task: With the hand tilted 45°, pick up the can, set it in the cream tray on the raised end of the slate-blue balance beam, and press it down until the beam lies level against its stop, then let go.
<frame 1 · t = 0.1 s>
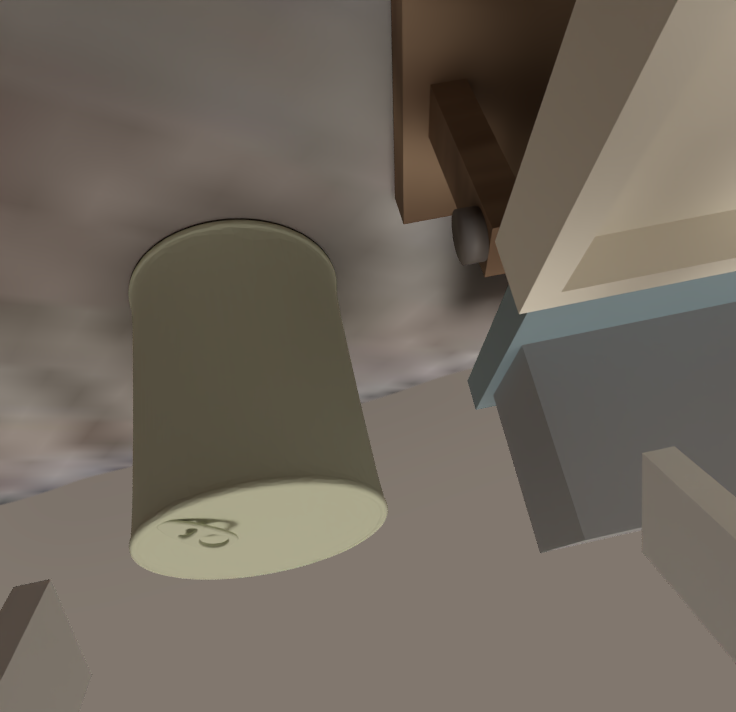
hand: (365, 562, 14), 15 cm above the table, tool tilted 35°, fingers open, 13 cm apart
can: (235, 289, 29), on the table
pivot stand: (600, 54, 22), on the table
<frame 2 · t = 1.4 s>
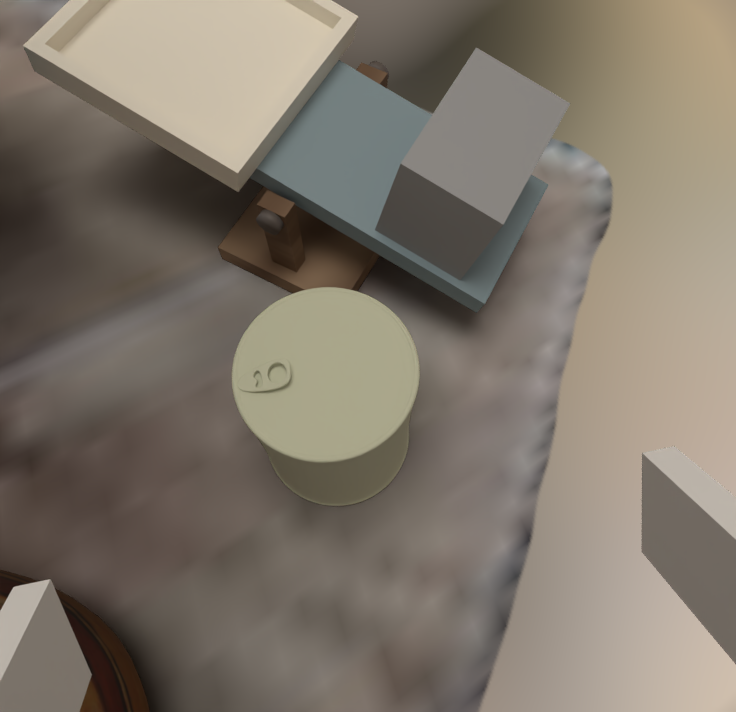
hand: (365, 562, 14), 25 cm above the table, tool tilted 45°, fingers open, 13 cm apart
balance beam: (317, 90, 37), point 12 cm above the table, hinge at 12.0°
can: (337, 435, 41), on the table
pivot stand: (332, 210, 48), on the table
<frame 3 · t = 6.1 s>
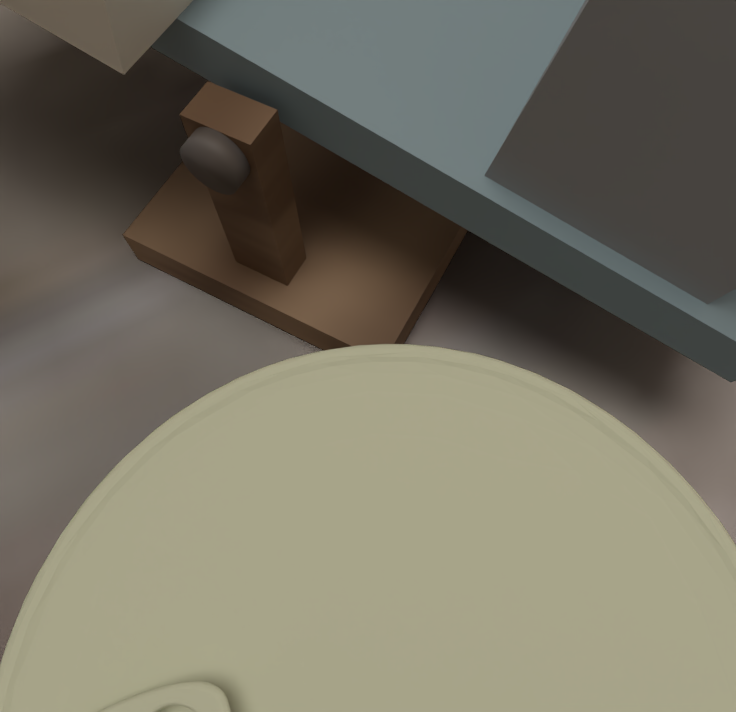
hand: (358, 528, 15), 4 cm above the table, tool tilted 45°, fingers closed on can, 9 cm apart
can: (385, 667, 18), on the table, touching gripper
pivot stand: (359, 163, 24), on the table
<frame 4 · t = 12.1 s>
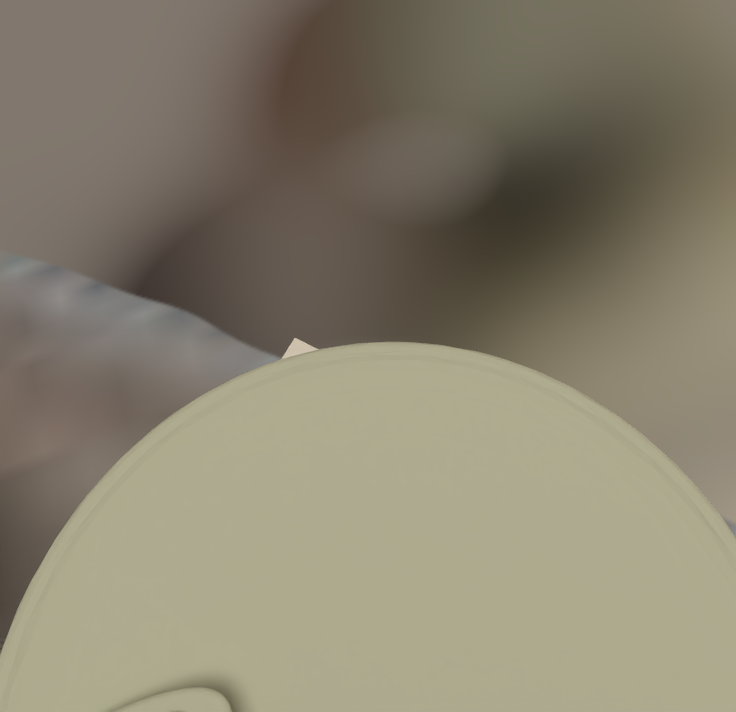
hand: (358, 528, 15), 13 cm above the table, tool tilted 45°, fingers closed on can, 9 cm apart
can: (380, 664, 18), point 10 cm above the table, touching balance beam, gripper
when the fingers open (13 cm above the table, at t = 12.2 s): can stays where it is, resting on balance beam.
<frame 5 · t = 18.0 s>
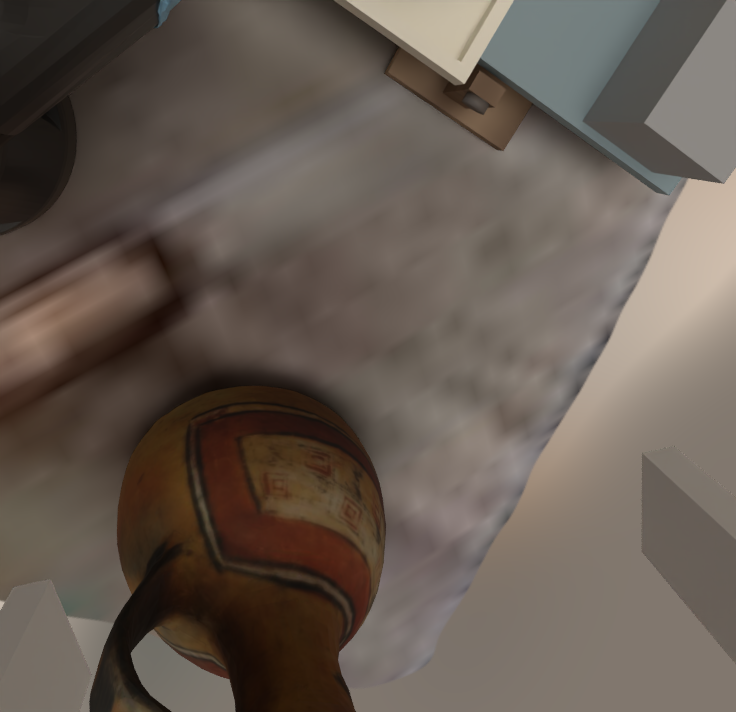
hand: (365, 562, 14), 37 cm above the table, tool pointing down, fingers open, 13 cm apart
ceramic pitcher: (257, 471, 55), on the table
pivot stand: (500, 14, 44), on the table
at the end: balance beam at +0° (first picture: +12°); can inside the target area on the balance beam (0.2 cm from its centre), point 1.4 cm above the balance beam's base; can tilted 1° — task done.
